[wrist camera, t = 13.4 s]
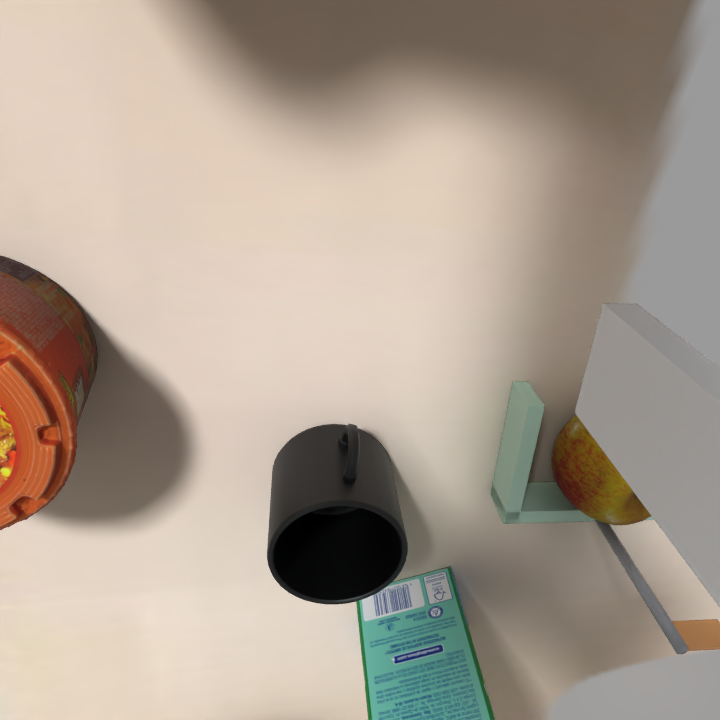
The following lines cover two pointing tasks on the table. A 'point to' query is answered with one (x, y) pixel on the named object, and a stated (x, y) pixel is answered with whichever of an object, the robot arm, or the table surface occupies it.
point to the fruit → (593, 478)
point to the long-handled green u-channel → (570, 511)
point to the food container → (39, 388)
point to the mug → (334, 516)
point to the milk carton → (420, 653)
